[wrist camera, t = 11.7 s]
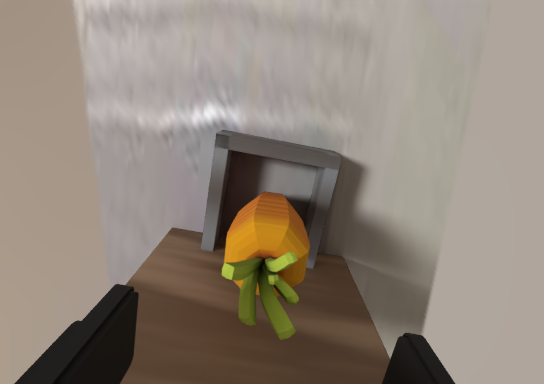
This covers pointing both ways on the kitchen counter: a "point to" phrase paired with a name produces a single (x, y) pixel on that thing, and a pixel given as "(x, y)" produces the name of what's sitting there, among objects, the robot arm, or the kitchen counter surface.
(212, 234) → the wall holder
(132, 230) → the kitchen counter surface
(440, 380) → the robot arm
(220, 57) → the kitchen counter surface
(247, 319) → the carrot
